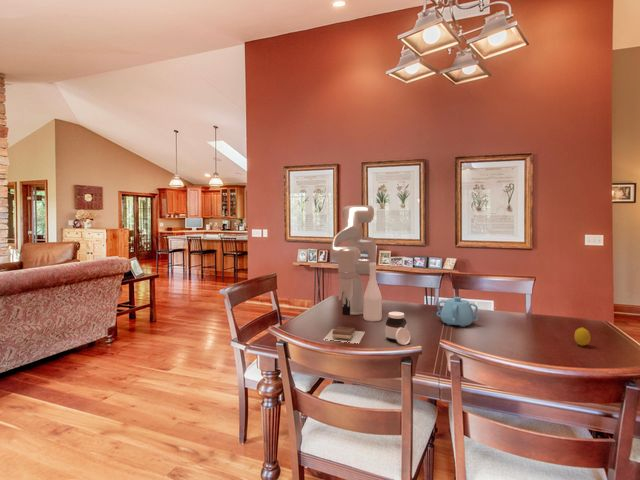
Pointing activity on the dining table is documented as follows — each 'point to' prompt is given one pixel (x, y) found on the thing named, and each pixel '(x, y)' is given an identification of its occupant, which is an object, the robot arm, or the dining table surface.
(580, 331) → the lemon
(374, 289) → the wine bottle
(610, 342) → the dining table surface
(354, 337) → the mat
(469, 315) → the decorative pot
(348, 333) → the slab
